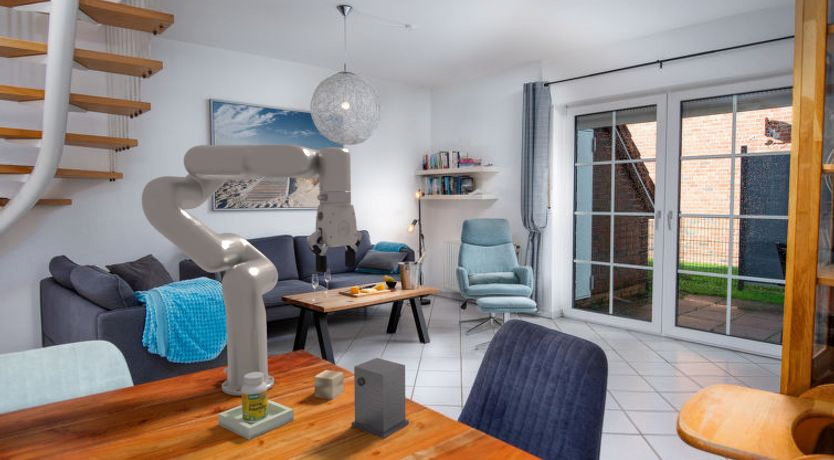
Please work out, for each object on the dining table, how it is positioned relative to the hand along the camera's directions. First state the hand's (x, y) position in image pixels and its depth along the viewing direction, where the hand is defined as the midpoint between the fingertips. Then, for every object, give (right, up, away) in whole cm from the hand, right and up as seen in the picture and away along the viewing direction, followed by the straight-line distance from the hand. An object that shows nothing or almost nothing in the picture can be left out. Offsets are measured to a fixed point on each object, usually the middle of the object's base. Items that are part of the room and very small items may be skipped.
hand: (336, 269), depth 124 cm
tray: (-15, -32, -15) cm, 38 cm away
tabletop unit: (+12, -32, -17) cm, 38 cm away
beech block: (-2, -31, 0) cm, 31 cm away
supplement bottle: (-15, -31, -15) cm, 38 cm away
